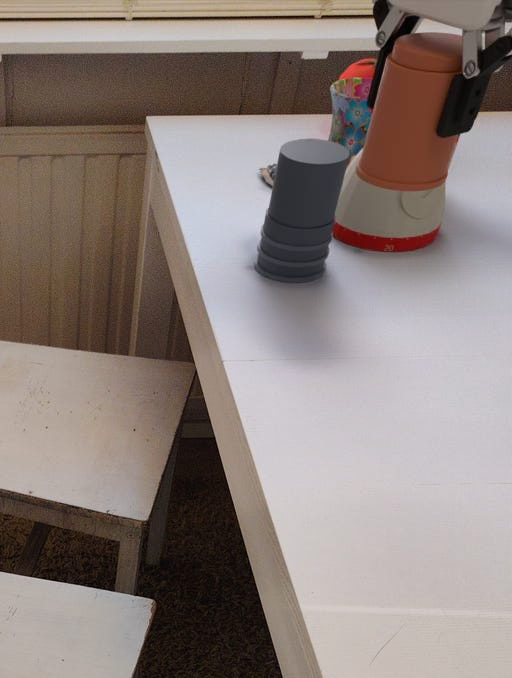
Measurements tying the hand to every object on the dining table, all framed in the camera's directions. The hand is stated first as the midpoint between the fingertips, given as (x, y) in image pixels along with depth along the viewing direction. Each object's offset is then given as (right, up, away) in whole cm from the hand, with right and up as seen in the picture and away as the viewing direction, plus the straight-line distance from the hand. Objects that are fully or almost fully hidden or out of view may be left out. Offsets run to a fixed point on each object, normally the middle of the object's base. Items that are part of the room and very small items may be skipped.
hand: (417, 117), depth 65 cm
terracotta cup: (0, -3, +3) cm, 4 cm away
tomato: (+20, +36, +61) cm, 74 cm away
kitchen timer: (+14, +11, +41) cm, 44 cm away
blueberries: (+5, +23, +51) cm, 56 cm away
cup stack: (+1, +4, +34) cm, 34 cm away
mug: (+15, +24, +52) cm, 59 cm away
